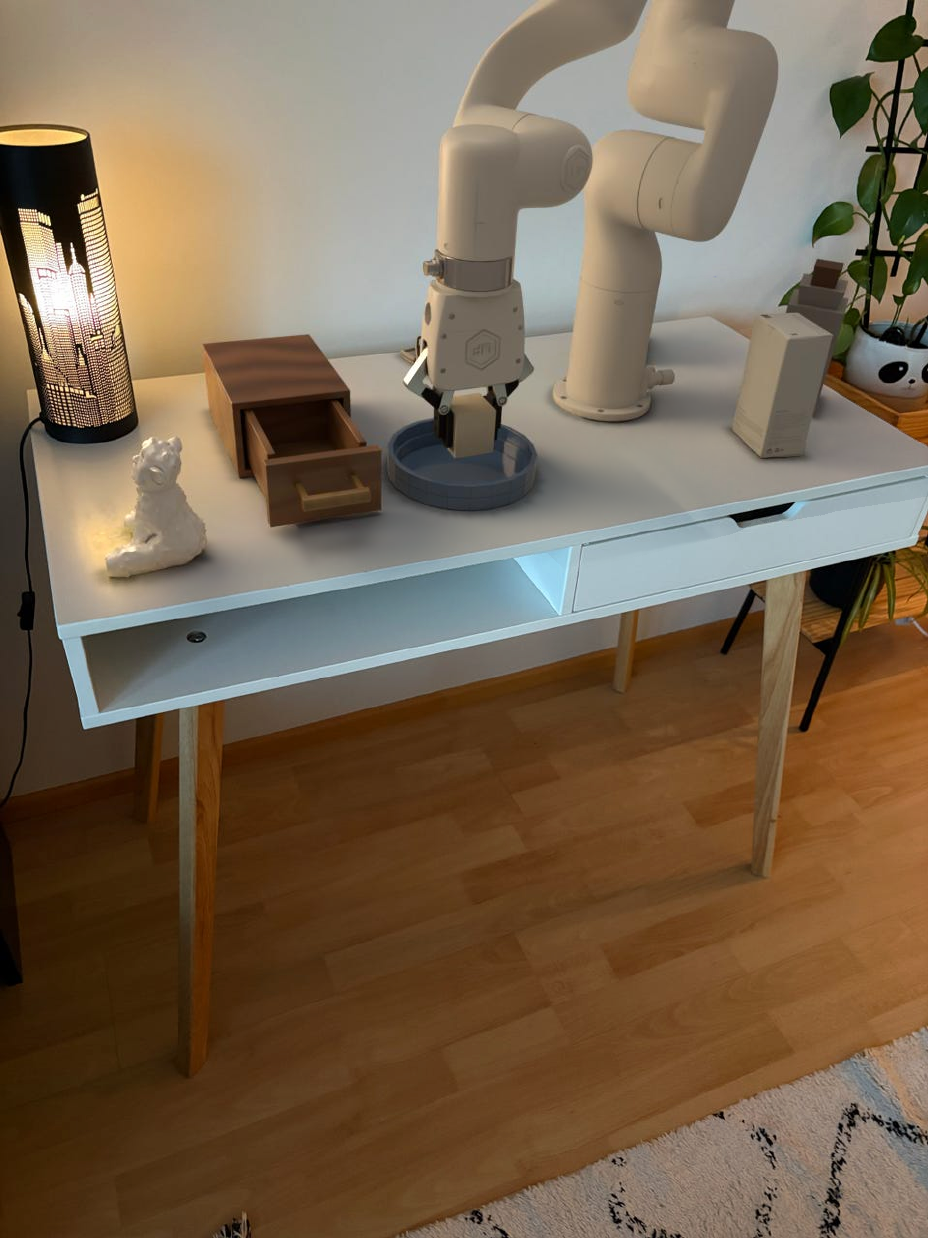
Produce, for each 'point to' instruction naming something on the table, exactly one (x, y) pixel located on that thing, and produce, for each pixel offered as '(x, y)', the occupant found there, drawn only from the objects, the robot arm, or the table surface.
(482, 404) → the block
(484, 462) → the plate
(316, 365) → the cabinet
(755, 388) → the cosmetic box
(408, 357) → the strap clip
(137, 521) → the sitting furry creature
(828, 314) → the perfume bottle
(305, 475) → the drawer
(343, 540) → the table surface
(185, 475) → the table surface
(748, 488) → the table surface
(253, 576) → the table surface
